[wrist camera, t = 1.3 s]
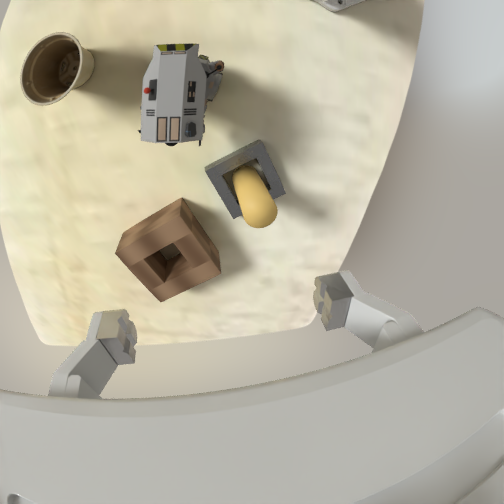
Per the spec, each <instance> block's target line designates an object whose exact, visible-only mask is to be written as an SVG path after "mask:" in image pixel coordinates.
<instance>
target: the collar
mask: <svg viewBox="0 0 504 504" xmlns="http://www.w3.org/2000/svg"><path fill="white" fill-rule="evenodd" d="M255 158H256V159H257V161H258V163H259V165H260V167H261V169H262V171H263V173H264V175H265V178H266V180H267V182H268V185H266V186H265V187H266V188H267V190H268V192H269V194H270V195H271V197H272V199H275V198H277V197H279V196H281V195H283V194H285V190H284V188H283V186H282V184H281V181H280V179H279V177H278V175H277V173H276V170H275V168H274V166H273V164H272V162H271V160H270V157H269V155H268V153H267V151H266V149H265V147H264V145H263V143H262V141H261V140H257V141H255V142H253V143H251V144H249V145H247V146H245V147H243V148H241V149H239V150H237V151H235V152H233V153H231V154H229V155H227V156H225V157H223V158H221V159H219V160H217V161H215V162H213V163H212V164H210V165H208V166H206V167H205V172H206V173H207V175H208V177H209V179H210V180H211V182H212V184H213V185H214V187H215V189H216V190H217V192H218V194H219V195H220V197H221V199H222V200H223V202H224V204H225V205H226V207H227V209H228V211H229V212H230V214H231V216H232V217H233V219H235V218H237V217H239V216H241V215H242V214H243V213H242V210H241V207H240V204H239V201H238V200H237V199H236V198H235V196H234V194H233V192H232V191H231V189H230V187H229V185H228V184H227V182H226V180H225V178H224V176H223V174H225V173H227V172H229V171H231V170H233V169H235V168H237V167H239V166H241V165H243V164H245V163H247V162H249V161H251V160H253V159H255Z"/></svg>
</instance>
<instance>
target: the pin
mask: <svg viewBox="0 0 504 504" xmlns="http://www.w3.org/2000/svg"><path fill="white" fill-rule="evenodd" d="M232 181H233V184H234V188H235V191H236V194H237V197H238V201H239V204H240V207H241V210H242V213H243V217H244V220H245V221H246V223H247V224H248V225H250V226H251V227H254V228H263V227H266V226H268V225H270V224H271V223H272V222H273V221H274V220H275V218H276V216H277V206H276V204H275V202H274V201H273V199H272V197H271V195H270V194H269V192H268V190H267V188H266V187H265V185H264V183H263V181H262V180H261V178H260V176H259V175H258V173H257V171H256V170H255V169H254V168H253V167H251V166H248V165H243V166H240V167H238V168H237V169H236V170H235V171H234V172H233V175H232Z"/></svg>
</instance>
